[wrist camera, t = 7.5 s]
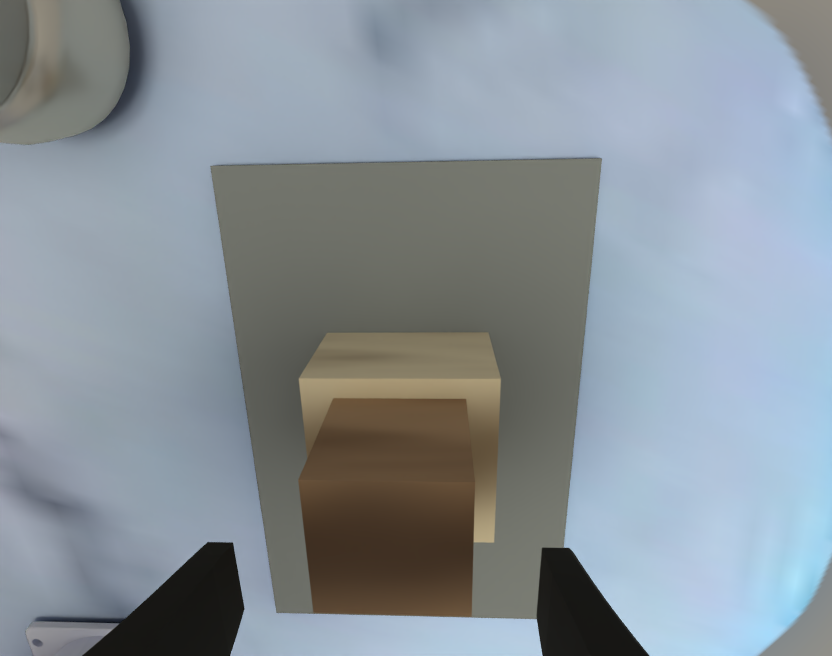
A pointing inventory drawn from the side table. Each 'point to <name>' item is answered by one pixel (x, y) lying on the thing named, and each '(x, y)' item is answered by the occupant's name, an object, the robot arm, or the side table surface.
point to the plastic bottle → (59, 67)
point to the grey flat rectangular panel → (416, 323)
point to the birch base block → (415, 390)
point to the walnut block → (390, 508)
